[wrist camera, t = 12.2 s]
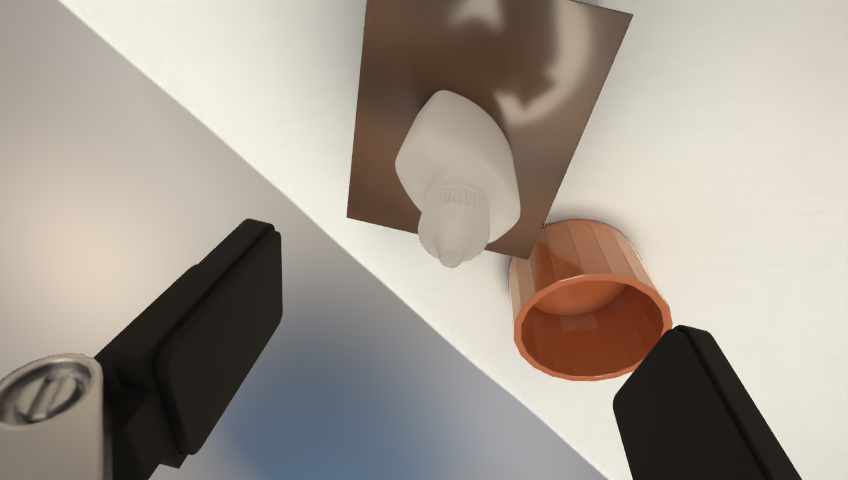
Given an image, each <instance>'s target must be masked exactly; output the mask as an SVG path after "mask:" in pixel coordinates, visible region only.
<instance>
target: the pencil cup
mask: <svg viewBox="0 0 848 480" xmlns="http://www.w3.org/2000/svg"><path fill="white" fill-rule="evenodd" d="M509 290H510V302H511V313H512V324H513V335H514V341H515V344H516V346H517V348H518V350H519V352H520V354H521V356H522V357H523V358H525V359H526V360H527V361H528V362H529V363H530V364H531V365H532V366H533V367H534V368H536V369H538V370H540V371H542V372H544V373H546V374H548V375H550V376H554V377H558V378H562V379H567V380H572V381H598V380H604V379H610V378H616V377H619V376H622V375H624V374H627V373H629V372H632V371H635V369H636V368H637V367H638V366H639V364H640V363H641V362H642V361H643V359H644V358H645V357H646V356H647V354H648V353H649V352H650V350H651V349H652V348H653V347H654V345H655V344H656V343H657V342H658V340H659V339H660V338H661V337H662V335H663V334H664V333H665V332H666V331H667V330H669V329H671V328H672V318H671V313H670V308H669V306H668V304H667V302H666V300H665V299H664V297H663V295H662V294H661V292H660V290H659V288H658V287H657V285H656V283H655V282H654V280H653V278H652V277H651V275H650V273H649V271H648V270H647V268H646V266H645V265H644V263H643V261H642V259H641V258H640V256H639V254H638V253H637V251H636V249H635V248H634V247H633V245H632V244H631V242H630V241H629V240H628V239H627V237H626V236H625V235H623V234H622V233H621V232H620V231H618V230H617V229H615V228H613V227H611V226H609V225H607V224H604V223H601V222H597V221H591V220H567V221H561V222H557V223H554V224H551V225H548V226H546V227H543V228H542V229H541V231H540V234H539V236H538V238H537V241H536V243H535V245H534V248H533V250H532V252H531V255H530V257H529V259H528V260H527V259H523V258H518V257H514V256H513V257H512V259H511V262H510V265H509Z"/></svg>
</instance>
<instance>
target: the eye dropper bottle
mask: <svg viewBox="0 0 848 480" xmlns="http://www.w3.org/2000/svg"><path fill="white" fill-rule="evenodd" d="M395 167H396V172H397V175H398V177H399V179H400V181H401V183H402V185H403V187H404V189H405V191H406V192H407V194H408V195H409V197H410V198H411V200H412V201H413V202H414V204H415V205H416V206H417V207H418V209H419V210H420V211H421V212H422V214H421V217H420V221H419V225H418V234H419V235H418V236H419V240H420V241H421V243H422V246H423V247H424V248H425V249H426V251H428V253H430V254H431V255H432V256H434V257H436V258H437V259H439V260H440V262H441V264H442V265H444V266H445V267H449V268H453V267H457V266H458V265H459V264H460V263H461V262H465V261H468V260H471V259H472V258H475V257H476V256H478V255H479V254H480V253H481V252H483V250H484V249H485V247H486V244H488V243H491V242H493V241H496V240H497V239H498V238H500V237H501V236H502V235H504V234H505V233H506V232H507V231H508V230H510V229H511V228H512V227H513V226H514V225H515V224H516V222H517V221H518V219H519V217H520V199H519V192H518V186H517V180H516V174H515V168H514V162H513V156H512V152H511V149H510V146H509V144H508V141H507V139H506V137H505V136H504V134H503V132H502V131H501V129H500V128H499V126H498V125H497V123H496V122H495V121H494V120H493V119H492V118H491V116H490V115H489V114H488V113H486V112H485V111H484V110H483V109H482V108H481V107H479V106H478V105H477V104H475V103H474V102H472V101H470V100H469V99H467V98H465V97H463V96H461V95H458V94H456V93H453V92H450V91H446V90H440V91H438V92H436V93H435V94H434V95H433V96H432V97H431V98H430V99H429V101H428V102H427V103H426V104H425V105H424V107H423V108H422V109H421V110H420V112H419V113H418V115H417V117H416V119H415V121H414V122H413V124H412V126H411V128H410V130H409V132H408V134H407V136H406V138H405V140H404V142H403V144H402V146H401V149H400V151H399V153H398V156H397V158H396V161H395Z"/></svg>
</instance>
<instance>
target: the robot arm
mask: <svg viewBox="0 0 848 480" xmlns="http://www.w3.org/2000/svg"><path fill="white" fill-rule="evenodd" d="M282 312H283V305H282V258H281V235H280V233H279V232H277V231H275V228H274V226H273V225H272V224H270V223H266V222H261V221H257V220H253V219H246V220H244V221H243V222H242V223H241V224H240V225H239V226H238V227H237V228H236V229H235V230H234V231H233V232H232V233H230V234H229V235H228V236H227V237H226V238H225V239H224V240H223V241H222V242H221V243H220V244H219V245H218V246H217V247H216V248H215V249H213V250H212V251H211V252H210V253H209V254H208V255H207V256H206V257H205V258H204V259H203V260H202V261H201V262H200V263H199V264H197V265H194V266H192V267H191V268H190V269H188V270H187V271H186V272H185V273H184V274H183V275H182V276H181V277H179V279H177V280H176V281H175V282H174V283H173V284H172V285H171V286H170V287H169V288H168V289H167V290H166V291H164V292H163V293H162V294H161V295H160V296H159V297H158V298H157V299H156V300H155V301H154V302H153V303H152V304H151V305H150V306H148V307H147V308H146V309H145V310H144V311H143V312H142V313H141V314H140V315H139V316H138V317H137V318H135V319H134V320H133V321H132V322H131V323H130V324H129V325H128V326H127V327H126V328H125V329H124V330H123V331H122V332H120V333H119V334H118V335H117V336H116V337H115V338H114V339H113V340H112V341H111V342H110V343H109V344H108V345H106V346H105V347H104V348H103V349H102V350H101V351H100V352H99V353H98V354H97V355H96V356H95V357H94V358H92V357H89V356H86V355H83V354H73V353H65V354H58V355H52V356H48V357H45V358H41V359H38V360H35V361H32V362H30V363H28V364H26V365H24V366H22V367H20V368H18V369H16V370H14V371H13V372H11V373H10V374H9V375H7V376H6V377H4V378H3V379H2V380H0V480H148V479H149V478H150V477H151V475H152V474H153V472H154V471H155V469H156V468H157V466H158V465H159V464H163V465H167V466H171V467H174V468H178V469H179V468H180V466H181V465H182V463H183V462H184V460H185V459H186V457H187V455H188V454H190V455H194V454H196V453H197V452H198V451H199V450H200V448H201V447H202V446H203V444H204V442H205V441H206V439H207V437H208V436H209V435H210V433H211V431H212V430H213V428H214V427H215V425H216V424H217V422H218V420H219V418H220V417H221V416H222V414H223V412H224V411H225V409H226V408H227V406H228V405H229V403H230V401H231V400H232V398H233V397H234V395H235V393H236V392H237V390H238V389H239V387H240V385H241V384H242V382H243V381H244V379H245V378H246V376H247V374H248V373H249V371H250V370H251V368H252V367H253V365H254V363H255V362H256V360H257V359H258V357H259V355H260V354H261V352H262V351H263V349H264V348H265V346H266V344H267V343H268V341H269V340H270V338H271V336H272V335H273V333H274V332H275V330H276V328H277V327H278V325H279V323H280V321H281V318H282ZM613 410H614V414H615V418H616V421H617V425H618V428H619V432H620V435H621V439H622V443H623V446H624V450H625V453H626V457H627V460H628V464H629V467H630V471H631V474H632V478H633V480H802V479H801V477H800V476H799V474H798V472H797V471H796V469H795V468H794V466H793V464H792V463H791V461H790V460H789V458H788V456H787V455H786V453H785V452H784V450H783V448H782V447H781V445H780V444H779V442H778V440H777V439H776V437H775V436H774V434H773V432H772V431H771V429H770V428H769V426H768V424H767V423H766V421H765V419H764V418H763V416H762V415H761V413H760V411H759V410H758V408H757V407H756V405H755V403H754V402H753V400H752V399H751V397H750V395H749V394H748V392H747V391H746V389H745V387H744V386H743V384H742V383H741V381H740V379H739V378H738V376H737V375H736V373H735V371H734V370H733V368H732V367H731V365H730V363H729V362H728V360H727V359H726V357H725V355H724V354H723V352H722V351H721V349H720V347H719V346H718V344H717V343H716V341H715V339H714V338H713V336H712V335H711V334H710V333H709V332H707V331H704V330H700V329H696V328H692V327H688V326H684V325H678V326H676V327H674V328H673V329H669V330H667V331H666V332H665V333H664V334H663V335H662V337H661V338H660V339H659V340H658V342H657V343H656V344H655V345H654V347H653V348H652V349H651V350H650V352H649V353H648V354H647V356H646V357H645V358H644V359H643V361H642V362H641V363H640V364H639V366H638V367H637V368H636V369H635V371H634V372H633V373H632V374H631V376H630V377H629V378H628V380H627V381H626V382H625V383H624V385H623V386H622V387H621V388H620V390H619V391H618V392H617V393H616V395H615V397H614V400H613Z"/></svg>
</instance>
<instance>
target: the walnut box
mask: <svg viewBox="0 0 848 480" xmlns="http://www.w3.org/2000/svg"><path fill="white" fill-rule="evenodd" d="M632 17H633V14H629V13H625V12H621V11H617V10H612V9H608V8H604V7H599V6H595V5H591V4H587V3H582V2H578V1H574V0H367V5H366V15H365V26H364V37H363V47H362V58H361V68H360V79H359V90H358V100H357V111H356V122H355V132H354V143H353V153H352V164H351V175H350V185H349V196H348V207H347V218H351V219H355V220H360V221H364V222H368V223H372V224H377V225H381V226H385V227H390V228H394V229H398V230H402V231H407V232H411V233H415V234H418V225H419V221H420V217H421V214H422V212H421V211H420V210H419V209H418V207H417V206H416V205H415V204H414V202H413V201H412V200H411V198H410V197H409V195H408V194H407V192H406V191H405V189H404V187H403V185H402V183H401V181H400V179H399V177H398V175H397V172H396V167H395V161H396V158H397V156H398V153H399V151H400V149H401V146H402V144H403V142H404V140H405V138H406V136H407V134H408V132H409V130H410V128H411V126H412V124H413V122H414V121H415V119H416V117H417V115H418V113H419V112H420V110H421V109H422V108H423V107H424V105H425V104H426V103H427V102H428V101H429V99H430V98H431V97H432V96H433V95H434V94H435V93H436V92H438V91H440V90H446V91H450V92H453V93H456V94H458V95H461V96H463V97H465V98H467V99H469V100H470V101H472V102H474V103H475V104H477V105H478V106H479V107H481V108H482V109H483V110H484V111H485V112H486V113H488V114H489V115H490V116H491V118H492V119H493V120H494V121H495V122H496V123H497V125H498V126H499V128H500V129H501V131H502V132H503V134H504V136H505V137H506V139H507V141H508V144H509V146H510V149H511V152H512V156H513V162H514V168H515V174H516V180H517V186H518V192H519V199H520V217H519V219H518V221H517V222H516V224H515V225H514V226H513V227H512V228H511V229H510V230H508V231H507V232H506V233H505V234H504V235H502V236H501V237H500V238H498V239H497V240H496V241H493V242H491V243H488V244H486V247H485V249H484V250H488V251H493V252H497V253H501V254H505V255H510V256H514V257H518V258H523V259H527V260H528V259H529V257H530V255H531V252H532V250H533V248H534V245H535V243H536V241H537V238H538V236H539V234H540V231H541V229H542V227H543V224H544V222H545V220H546V217H547V215H548V213H549V210H550V208H551V206H552V203H553V201H554V199H555V196H556V194H557V192H558V189H559V187H560V185H561V182H562V180H563V178H564V175H565V173H566V171H567V168H568V166H569V164H570V161H571V159H572V157H573V154H574V152H575V150H576V147H577V145H578V143H579V141H580V138H581V136H582V134H583V131H584V129H585V127H586V124H587V122H588V120H589V117H590V115H591V113H592V110H593V108H594V106H595V103H596V101H597V99H598V96H599V94H600V92H601V89H602V87H603V85H604V82H605V80H606V78H607V75H608V73H609V71H610V68H611V66H612V64H613V61H614V59H615V57H616V54H617V52H618V50H619V47H620V45H621V43H622V40H623V38H624V36H625V33H626V31H627V29H628V26H629V24H630V22H631V19H632Z"/></svg>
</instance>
